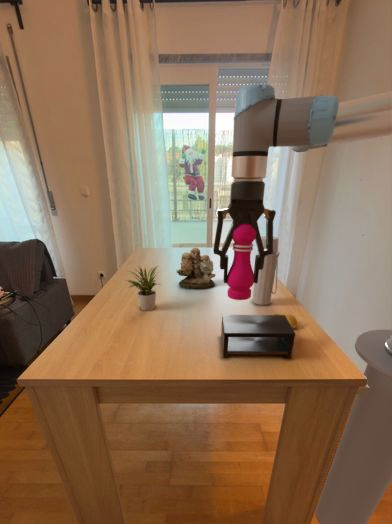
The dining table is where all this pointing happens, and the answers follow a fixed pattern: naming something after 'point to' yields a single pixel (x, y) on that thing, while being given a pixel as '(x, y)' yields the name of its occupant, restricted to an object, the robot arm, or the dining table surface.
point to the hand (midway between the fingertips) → (240, 281)
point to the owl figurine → (196, 270)
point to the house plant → (145, 288)
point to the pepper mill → (241, 263)
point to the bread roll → (290, 319)
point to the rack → (257, 335)
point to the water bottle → (266, 275)
